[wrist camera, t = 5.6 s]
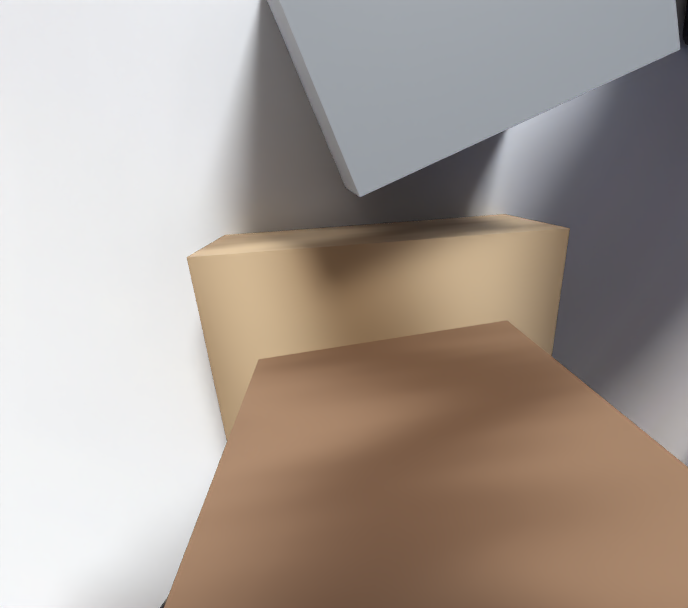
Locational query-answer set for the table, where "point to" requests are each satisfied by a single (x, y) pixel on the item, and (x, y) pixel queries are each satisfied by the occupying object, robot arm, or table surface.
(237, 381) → the oak slab
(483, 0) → the slate cube
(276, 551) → the walnut cube
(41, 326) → the table surface
